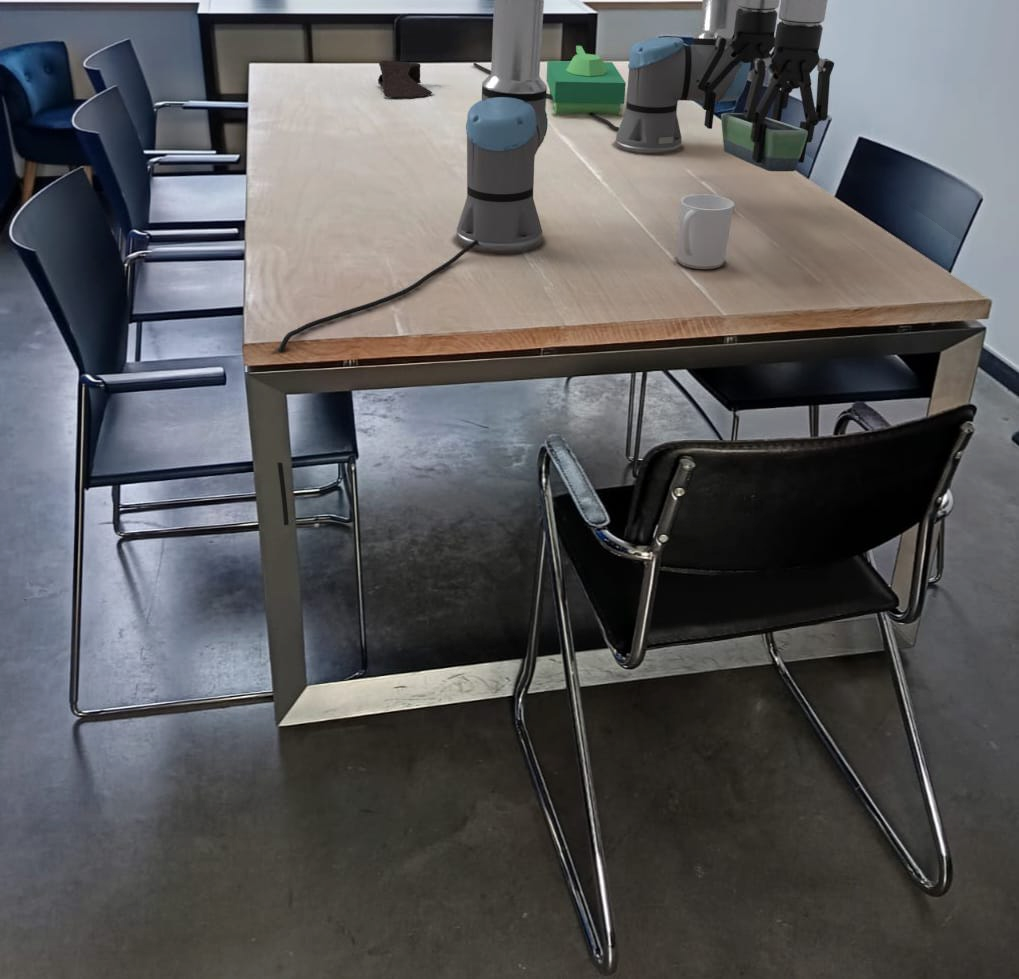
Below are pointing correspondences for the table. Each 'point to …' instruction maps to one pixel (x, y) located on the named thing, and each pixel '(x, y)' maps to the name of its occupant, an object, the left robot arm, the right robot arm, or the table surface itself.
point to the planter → (778, 145)
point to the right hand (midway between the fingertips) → (741, 126)
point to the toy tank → (585, 85)
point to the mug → (703, 230)
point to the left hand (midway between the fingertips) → (777, 160)
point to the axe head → (401, 79)
